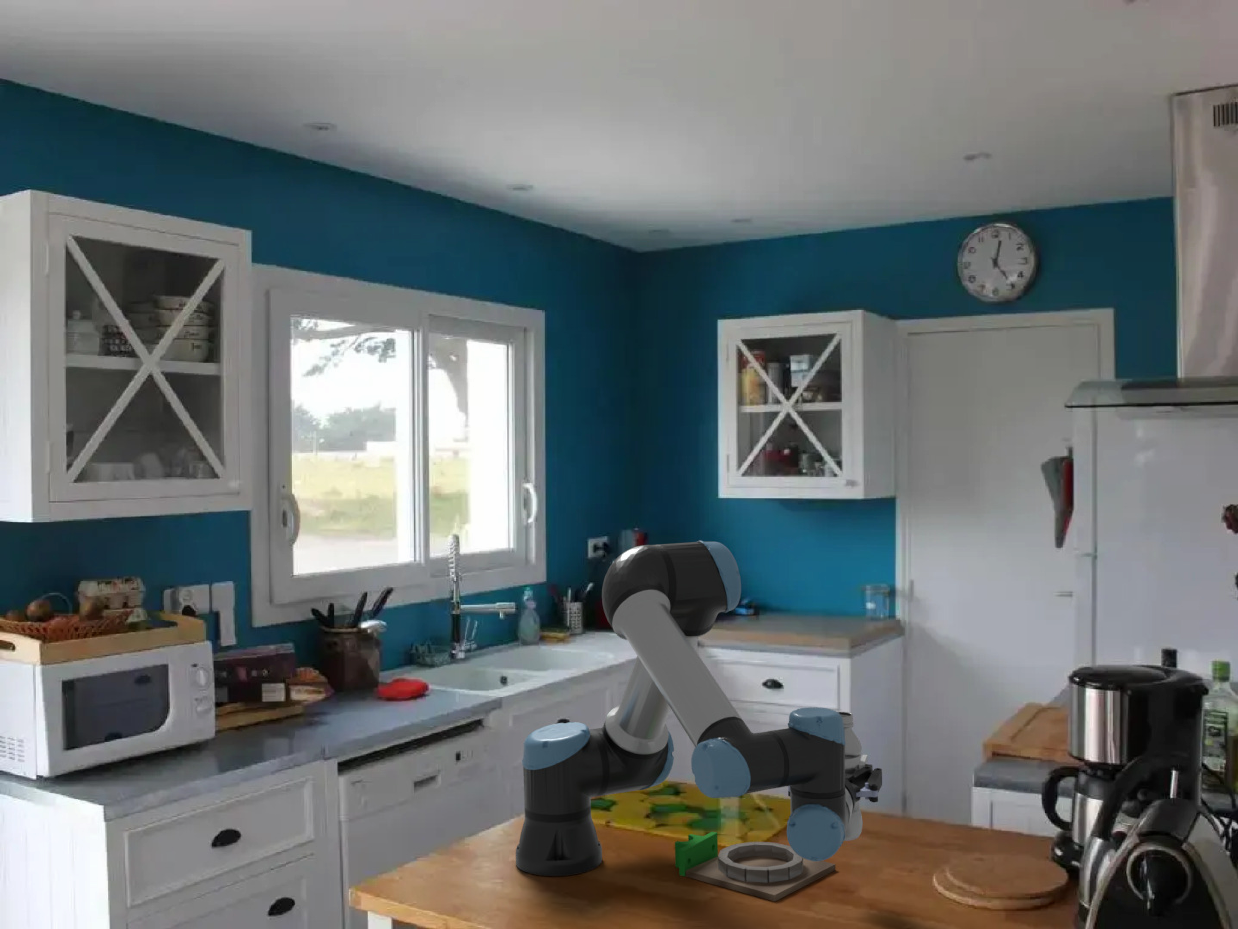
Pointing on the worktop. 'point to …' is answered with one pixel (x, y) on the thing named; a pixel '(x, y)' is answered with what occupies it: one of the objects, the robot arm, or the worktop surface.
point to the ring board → (761, 887)
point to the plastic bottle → (852, 766)
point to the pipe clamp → (695, 851)
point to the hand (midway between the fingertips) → (844, 762)
